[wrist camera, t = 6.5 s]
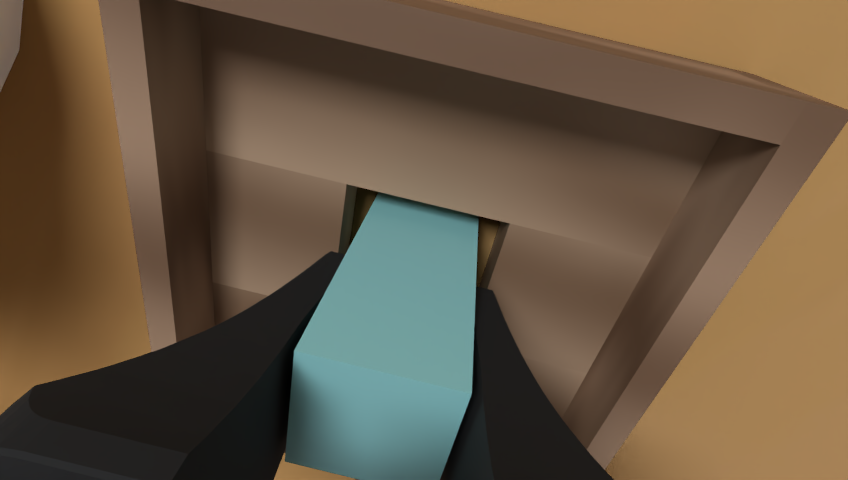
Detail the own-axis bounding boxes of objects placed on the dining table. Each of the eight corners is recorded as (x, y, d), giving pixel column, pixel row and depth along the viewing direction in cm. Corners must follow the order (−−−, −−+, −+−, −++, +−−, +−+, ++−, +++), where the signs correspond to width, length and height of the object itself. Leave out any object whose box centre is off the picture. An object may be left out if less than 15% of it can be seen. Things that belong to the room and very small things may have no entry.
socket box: (555, 429, 18) (568, 522, 15) (217, 347, 18) (162, 423, 15) (753, 74, 11) (853, 112, 8) (198, -58, 11) (87, -71, 8)
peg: (455, 291, 15) (433, 497, 9) (366, 270, 15) (284, 461, 9) (478, 212, 14) (471, 393, 7) (380, 188, 14) (293, 350, 8)
